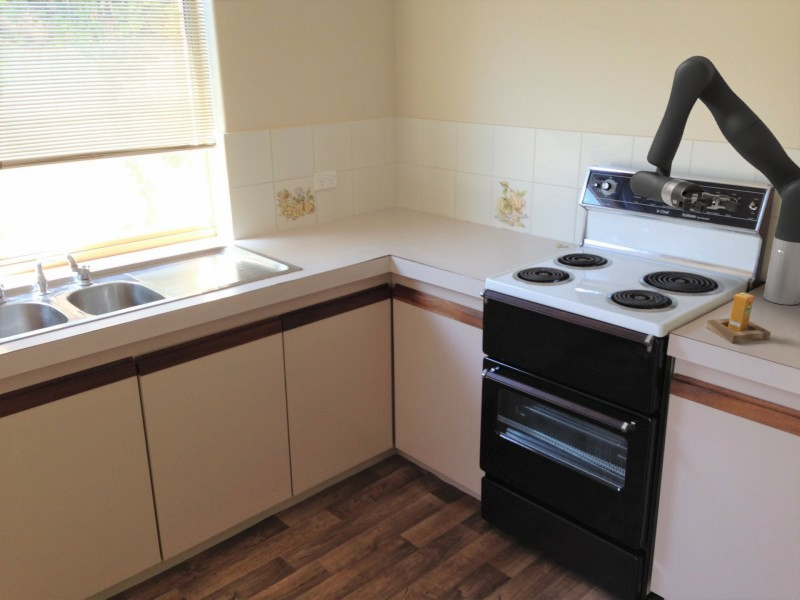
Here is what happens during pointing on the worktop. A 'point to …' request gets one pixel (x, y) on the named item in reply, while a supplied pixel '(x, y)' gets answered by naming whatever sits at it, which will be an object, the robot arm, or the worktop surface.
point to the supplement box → (741, 312)
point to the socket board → (733, 337)
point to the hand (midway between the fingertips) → (720, 208)
